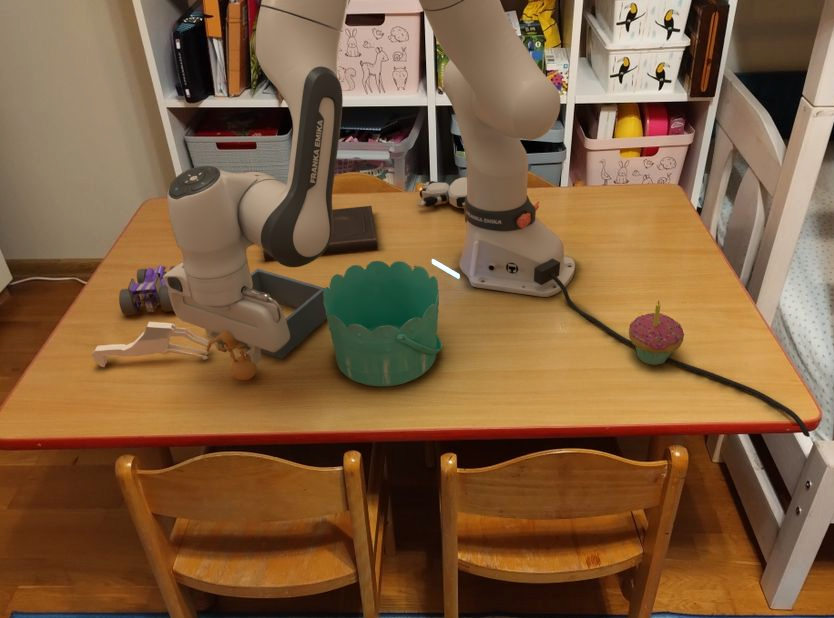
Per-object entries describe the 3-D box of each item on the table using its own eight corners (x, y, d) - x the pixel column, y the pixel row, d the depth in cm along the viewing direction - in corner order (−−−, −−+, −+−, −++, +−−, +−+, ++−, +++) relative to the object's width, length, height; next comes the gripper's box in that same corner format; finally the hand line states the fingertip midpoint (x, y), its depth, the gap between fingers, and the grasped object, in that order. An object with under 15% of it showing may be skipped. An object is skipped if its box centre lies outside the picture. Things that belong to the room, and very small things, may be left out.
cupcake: (669, 378, 112) (682, 316, 105) (617, 361, 116) (626, 300, 109) (685, 349, 118) (699, 287, 111) (635, 334, 122) (645, 273, 114)
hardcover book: (268, 225, 158) (266, 215, 156) (372, 214, 160) (371, 205, 158) (264, 262, 145) (262, 252, 144) (378, 250, 147) (377, 240, 146)
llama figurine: (202, 382, 125) (93, 358, 121) (214, 332, 119) (99, 305, 114) (200, 389, 124) (90, 365, 119) (212, 339, 118) (96, 311, 113)
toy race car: (190, 272, 143) (182, 244, 139) (177, 315, 131) (168, 285, 127) (141, 277, 142) (131, 248, 138) (124, 320, 131) (113, 290, 127)
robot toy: (417, 217, 160) (484, 215, 157) (414, 199, 157) (482, 196, 154) (425, 193, 169) (488, 190, 167) (422, 175, 166) (487, 172, 164)
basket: (335, 324, 127) (326, 262, 119) (438, 318, 128) (435, 255, 120) (329, 396, 112) (318, 329, 104) (446, 388, 113) (444, 321, 105)
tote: (330, 316, 129) (325, 288, 126) (281, 359, 120) (275, 330, 116) (263, 295, 136) (257, 268, 132) (212, 335, 126) (204, 307, 122)
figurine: (272, 365, 118) (254, 305, 111) (272, 388, 113) (253, 326, 106) (221, 374, 118) (200, 314, 110) (219, 398, 113) (196, 336, 106)
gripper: (290, 286, 102) (304, 361, 110) (184, 254, 110) (205, 327, 119) (261, 309, 98) (278, 385, 106) (153, 274, 106) (177, 348, 114)
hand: (239, 354), depth 112 cm, fingers open, 5 cm apart
